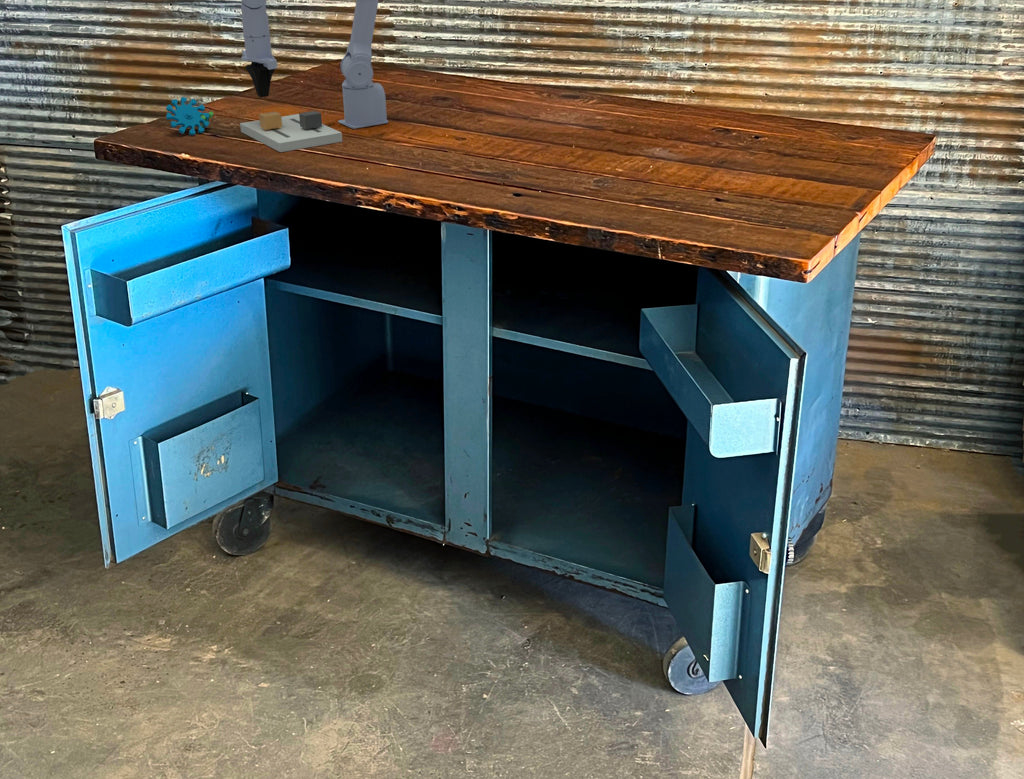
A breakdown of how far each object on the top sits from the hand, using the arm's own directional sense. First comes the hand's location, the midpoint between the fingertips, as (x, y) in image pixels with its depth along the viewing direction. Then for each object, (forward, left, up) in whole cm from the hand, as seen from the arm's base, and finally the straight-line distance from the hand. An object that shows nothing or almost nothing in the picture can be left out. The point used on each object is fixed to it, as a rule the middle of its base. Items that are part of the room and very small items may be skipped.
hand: (263, 96), depth 282 cm
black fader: (-6, +11, -6) cm, 14 cm away
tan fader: (+1, +6, -6) cm, 8 cm away
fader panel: (-2, +8, -8) cm, 12 cm away
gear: (+14, -10, -8) cm, 19 cm away
